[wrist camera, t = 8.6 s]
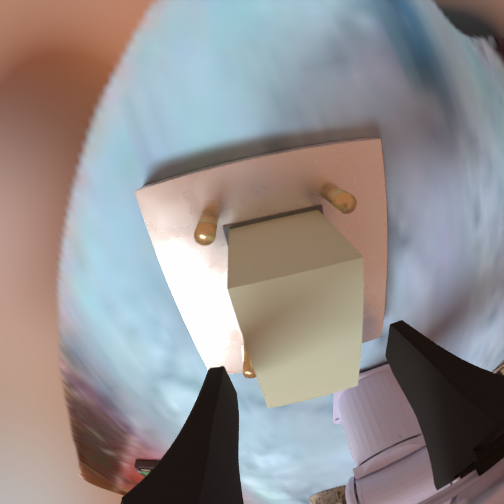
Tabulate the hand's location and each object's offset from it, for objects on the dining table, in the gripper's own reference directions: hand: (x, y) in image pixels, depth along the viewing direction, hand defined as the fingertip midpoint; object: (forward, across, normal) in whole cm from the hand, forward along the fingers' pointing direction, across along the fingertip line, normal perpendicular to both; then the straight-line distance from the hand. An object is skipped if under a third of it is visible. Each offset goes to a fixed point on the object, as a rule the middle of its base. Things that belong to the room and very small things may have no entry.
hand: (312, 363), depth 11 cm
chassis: (+8, 0, 0) cm, 8 cm away
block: (+7, 0, 0) cm, 7 cm away
